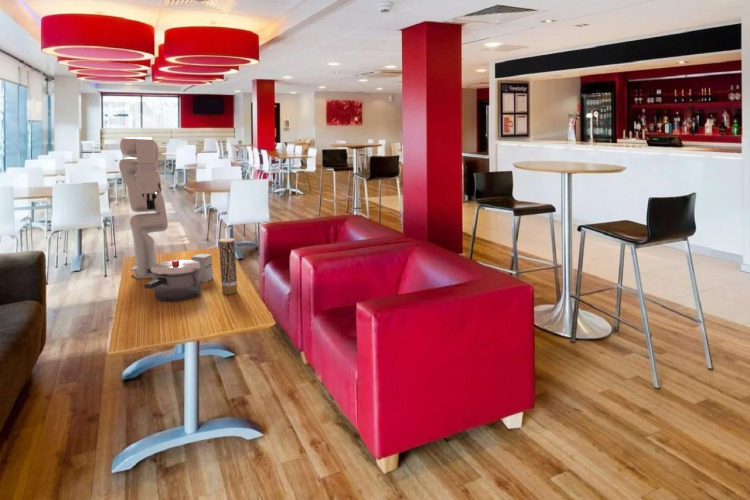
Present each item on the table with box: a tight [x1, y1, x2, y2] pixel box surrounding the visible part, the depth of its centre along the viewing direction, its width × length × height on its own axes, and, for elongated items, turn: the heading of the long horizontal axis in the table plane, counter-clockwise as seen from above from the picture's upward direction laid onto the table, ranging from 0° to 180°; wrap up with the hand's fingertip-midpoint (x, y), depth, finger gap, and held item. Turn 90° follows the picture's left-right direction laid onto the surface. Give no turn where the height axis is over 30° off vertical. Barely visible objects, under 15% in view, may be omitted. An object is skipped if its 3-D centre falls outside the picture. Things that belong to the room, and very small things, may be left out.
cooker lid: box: [151, 259, 200, 275], centre depth 246 cm, size 21×21×4 cm
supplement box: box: [190, 253, 214, 283], centre depth 271 cm, size 7×7×13 cm
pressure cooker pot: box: [144, 268, 202, 303], centre depth 244 cm, size 23×30×12 cm
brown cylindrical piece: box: [218, 237, 238, 295], centre depth 250 cm, size 7×7×25 cm
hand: (151, 208), depth 243 cm, fingers closed
